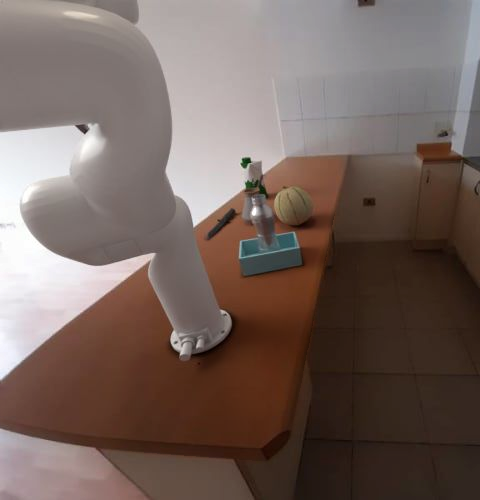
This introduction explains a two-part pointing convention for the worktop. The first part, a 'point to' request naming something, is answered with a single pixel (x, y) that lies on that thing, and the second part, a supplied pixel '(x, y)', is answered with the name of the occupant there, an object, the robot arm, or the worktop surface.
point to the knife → (221, 222)
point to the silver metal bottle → (264, 224)
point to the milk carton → (252, 174)
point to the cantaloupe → (293, 205)
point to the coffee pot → (250, 201)
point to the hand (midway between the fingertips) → (140, 160)
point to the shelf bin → (269, 255)
